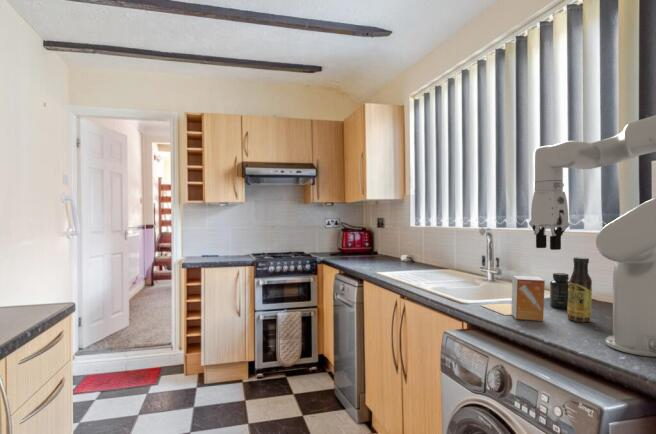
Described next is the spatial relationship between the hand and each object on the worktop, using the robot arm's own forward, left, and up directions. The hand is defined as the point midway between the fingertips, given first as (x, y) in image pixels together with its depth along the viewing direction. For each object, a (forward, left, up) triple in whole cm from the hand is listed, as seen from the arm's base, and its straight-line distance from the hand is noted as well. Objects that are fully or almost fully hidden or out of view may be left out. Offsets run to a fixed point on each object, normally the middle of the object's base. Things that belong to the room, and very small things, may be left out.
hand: (548, 248), depth 115 cm
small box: (+9, 0, -23) cm, 25 cm away
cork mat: (+20, -1, -23) cm, 31 cm away
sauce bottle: (+3, -14, -24) cm, 28 cm away
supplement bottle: (+19, -22, -24) cm, 37 cm away
